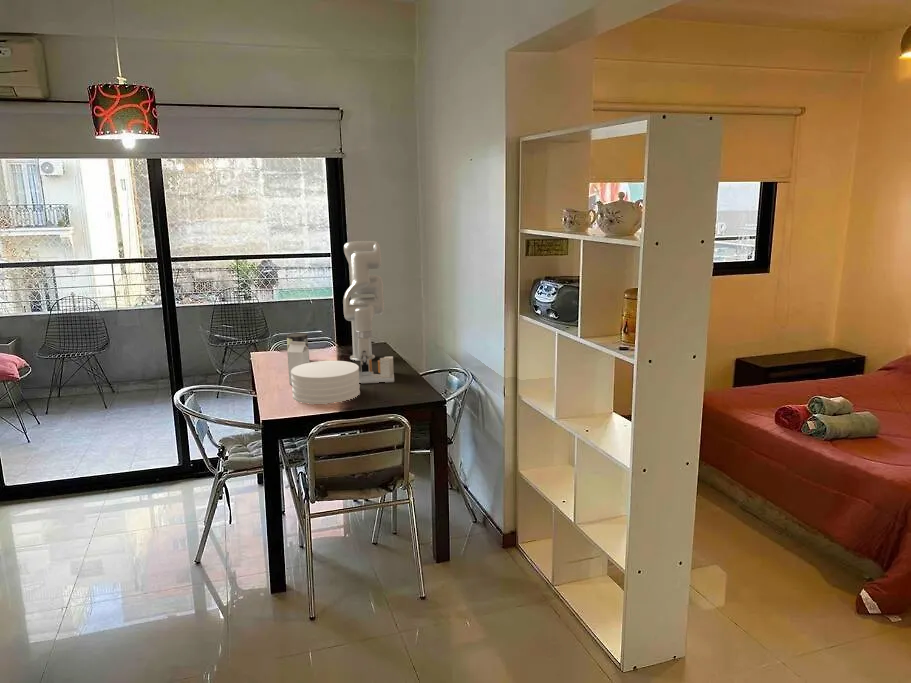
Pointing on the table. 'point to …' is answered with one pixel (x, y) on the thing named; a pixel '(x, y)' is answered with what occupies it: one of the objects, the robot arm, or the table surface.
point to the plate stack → (325, 382)
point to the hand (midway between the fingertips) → (365, 370)
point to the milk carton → (297, 356)
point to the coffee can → (297, 338)
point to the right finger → (368, 364)
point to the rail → (376, 378)
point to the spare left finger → (390, 364)
